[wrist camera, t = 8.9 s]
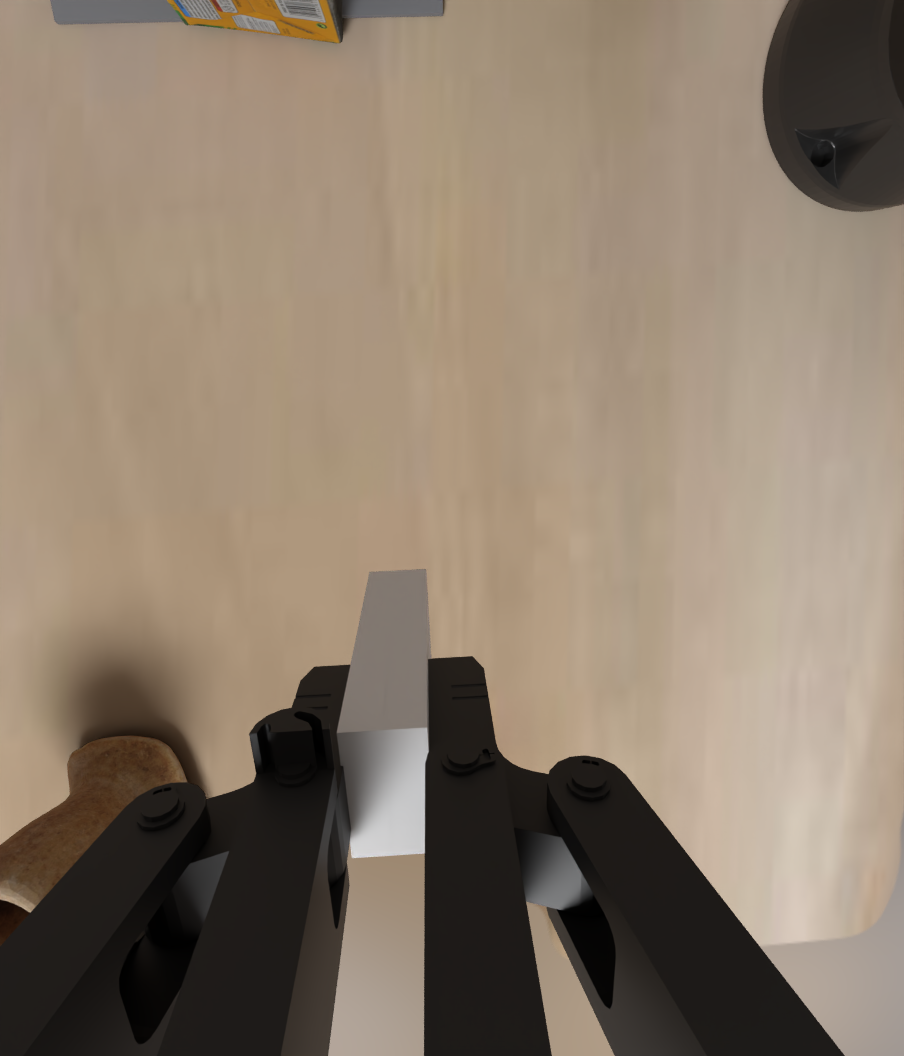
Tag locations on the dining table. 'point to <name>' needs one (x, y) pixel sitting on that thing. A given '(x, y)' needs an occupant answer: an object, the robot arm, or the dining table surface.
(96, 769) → the tan boot
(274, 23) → the chalk box
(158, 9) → the mat
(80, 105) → the dining table surface
